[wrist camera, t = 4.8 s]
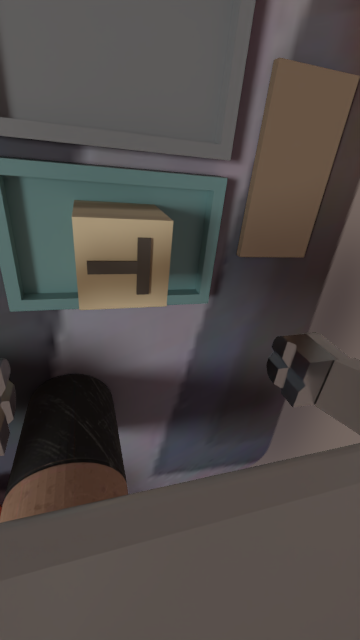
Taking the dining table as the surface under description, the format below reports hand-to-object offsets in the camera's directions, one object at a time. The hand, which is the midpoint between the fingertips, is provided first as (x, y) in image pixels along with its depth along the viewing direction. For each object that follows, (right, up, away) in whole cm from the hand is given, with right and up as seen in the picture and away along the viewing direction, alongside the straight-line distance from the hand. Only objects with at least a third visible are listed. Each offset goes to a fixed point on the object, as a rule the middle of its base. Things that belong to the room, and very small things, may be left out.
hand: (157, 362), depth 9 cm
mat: (+9, +12, +12) cm, 19 cm away
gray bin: (-3, +16, +6) cm, 17 cm away
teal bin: (-4, +7, +11) cm, 14 cm away
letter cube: (-4, +7, +11) cm, 13 cm away
